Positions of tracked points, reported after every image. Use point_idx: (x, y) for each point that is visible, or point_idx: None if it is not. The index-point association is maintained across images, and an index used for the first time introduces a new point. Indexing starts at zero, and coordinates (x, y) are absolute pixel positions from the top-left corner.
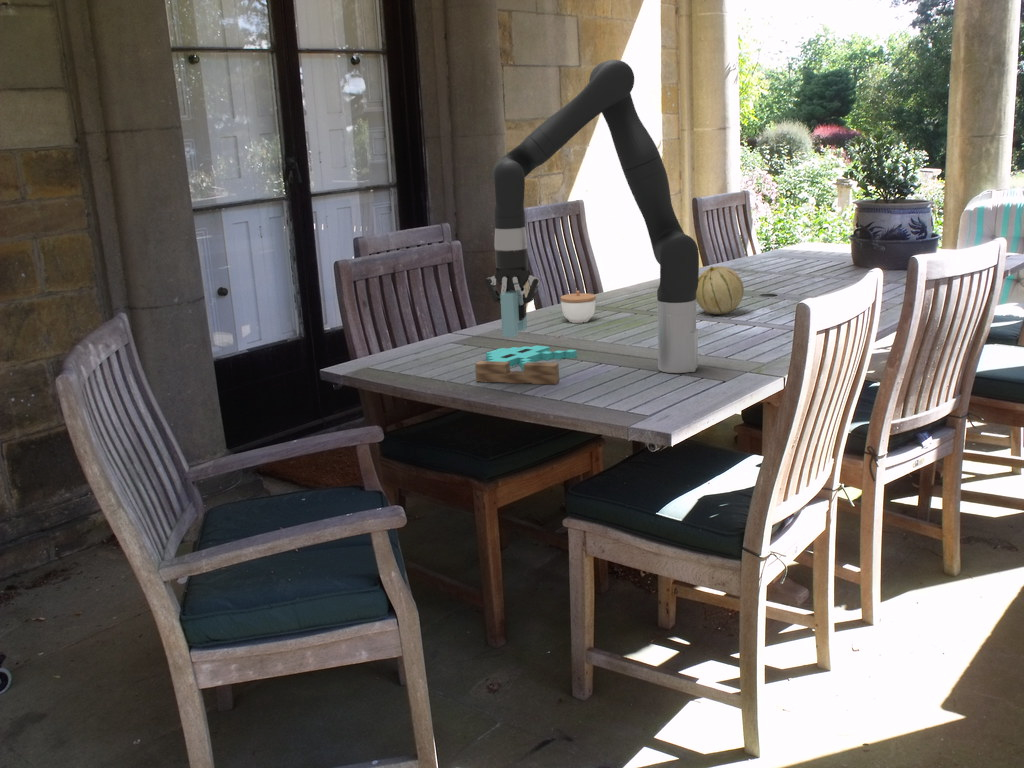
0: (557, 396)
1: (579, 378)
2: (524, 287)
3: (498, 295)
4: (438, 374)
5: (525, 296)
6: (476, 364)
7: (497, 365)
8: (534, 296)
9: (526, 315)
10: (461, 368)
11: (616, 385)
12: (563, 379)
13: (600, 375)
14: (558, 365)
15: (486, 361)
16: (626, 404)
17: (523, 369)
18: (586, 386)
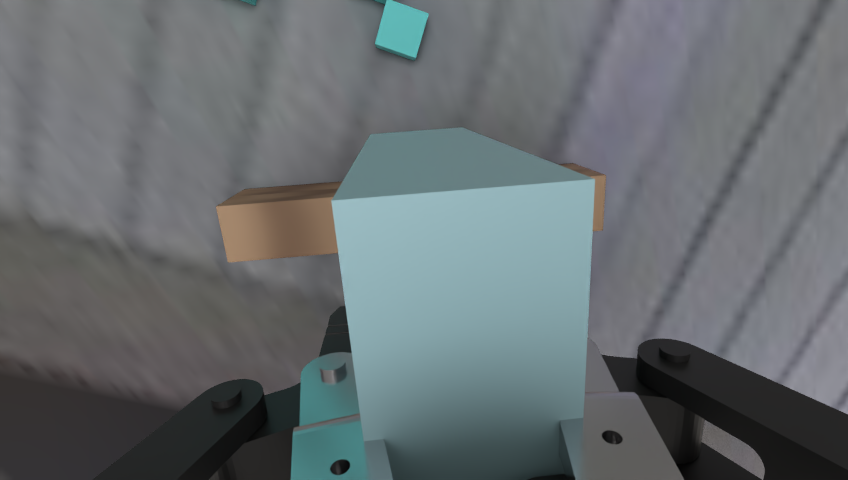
0: (609, 344)
1: (642, 103)
2: (579, 191)
3: (227, 450)
4: (12, 150)
5: (612, 382)
6: (235, 261)
7: (337, 251)
8: (734, 365)
9: (480, 134)
10: (42, 17)
11: (790, 178)
12: (582, 130)
13: (721, 36)
14: (600, 174)
15: (255, 208)
16: (823, 374)
17: (381, 48)
18: (685, 212)
